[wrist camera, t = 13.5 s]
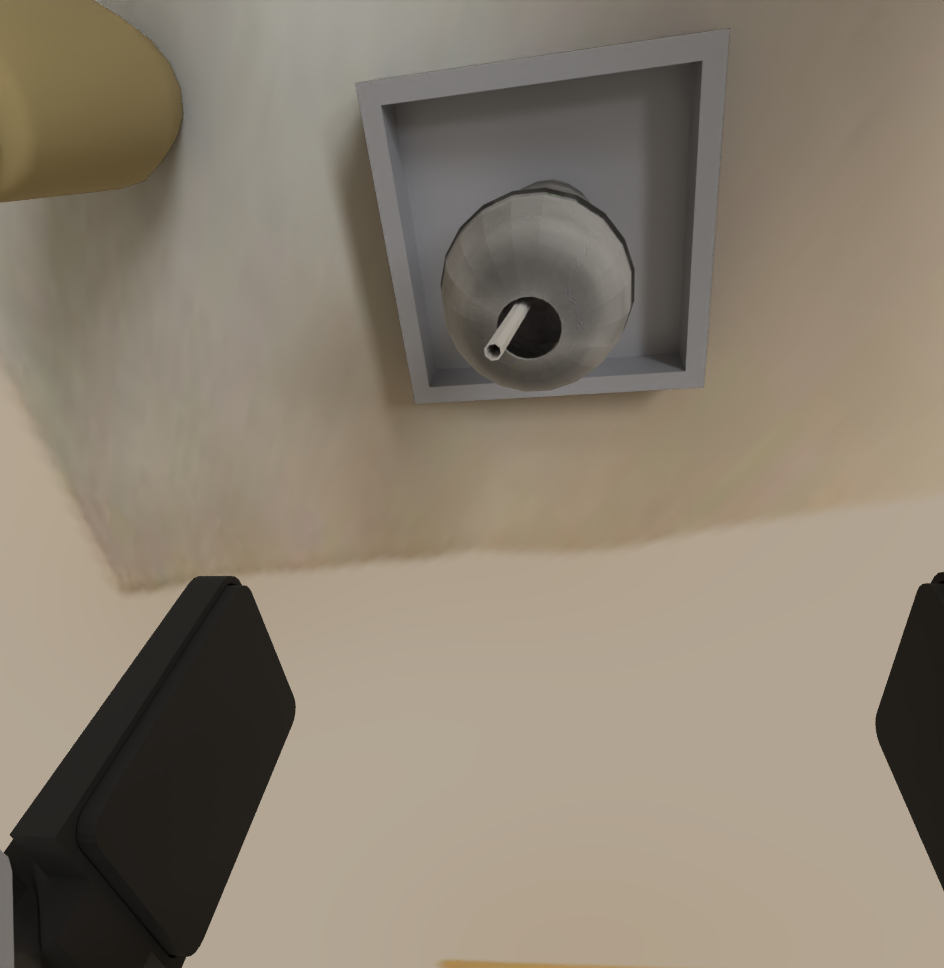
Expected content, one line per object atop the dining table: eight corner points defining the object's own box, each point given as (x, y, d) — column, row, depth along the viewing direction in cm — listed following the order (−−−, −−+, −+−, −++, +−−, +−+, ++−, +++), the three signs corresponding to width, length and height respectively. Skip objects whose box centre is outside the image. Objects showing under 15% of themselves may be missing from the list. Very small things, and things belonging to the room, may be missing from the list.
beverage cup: (525, 320, 37) (479, 535, 20) (452, 203, 34) (330, 343, 18) (645, 249, 34) (705, 434, 18) (576, 115, 31) (570, 184, 15)
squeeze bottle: (86, -48, 31) (-361, -139, 16) (233, 83, 33) (-40, 109, 18) (32, 101, 35) (-369, 139, 20) (166, 209, 37) (-104, 316, 22)
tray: (374, 80, 32) (355, 82, 29) (714, 30, 30) (729, 28, 27) (426, 379, 41) (415, 404, 38) (693, 361, 38) (704, 387, 35)
